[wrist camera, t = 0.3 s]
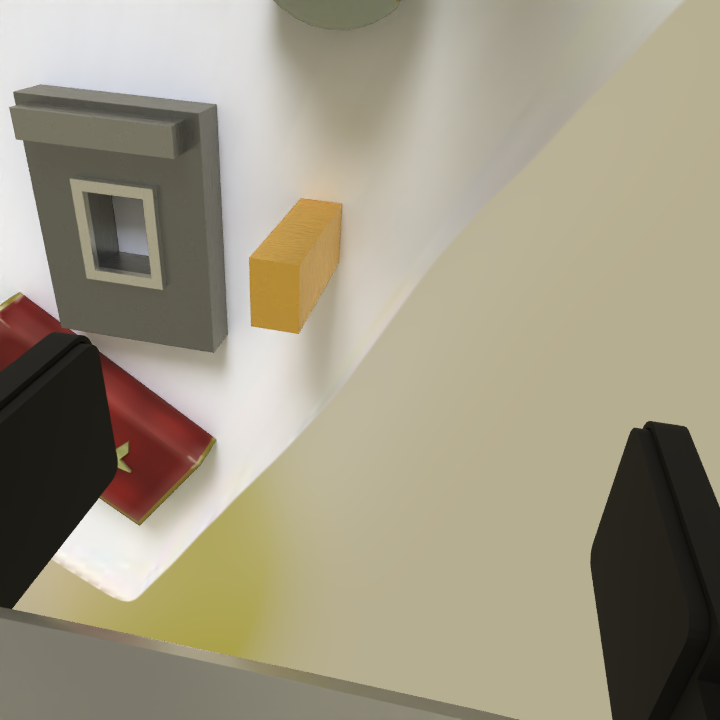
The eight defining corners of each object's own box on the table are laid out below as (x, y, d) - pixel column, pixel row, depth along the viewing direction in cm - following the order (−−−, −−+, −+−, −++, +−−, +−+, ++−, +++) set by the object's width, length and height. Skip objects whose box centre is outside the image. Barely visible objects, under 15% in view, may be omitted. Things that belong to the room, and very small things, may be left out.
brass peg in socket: (300, 198, 47) (249, 257, 37) (341, 203, 46) (300, 264, 37) (299, 256, 49) (251, 326, 40) (338, 262, 49) (298, 333, 39)
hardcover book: (24, 288, 56) (-9, 310, 53) (219, 435, 61) (201, 464, 57) (-23, 369, 62) (-55, 394, 59) (157, 497, 67) (138, 527, 63)
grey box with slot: (40, 84, 46) (-7, 97, 42) (216, 104, 44) (185, 119, 40) (81, 310, 56) (46, 339, 51) (227, 334, 54) (203, 365, 50)
